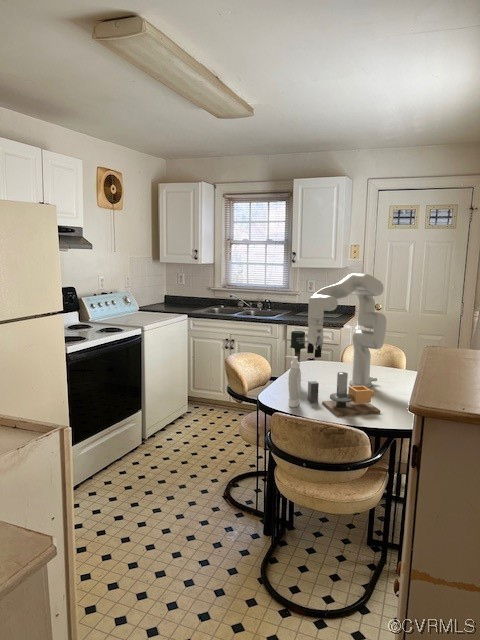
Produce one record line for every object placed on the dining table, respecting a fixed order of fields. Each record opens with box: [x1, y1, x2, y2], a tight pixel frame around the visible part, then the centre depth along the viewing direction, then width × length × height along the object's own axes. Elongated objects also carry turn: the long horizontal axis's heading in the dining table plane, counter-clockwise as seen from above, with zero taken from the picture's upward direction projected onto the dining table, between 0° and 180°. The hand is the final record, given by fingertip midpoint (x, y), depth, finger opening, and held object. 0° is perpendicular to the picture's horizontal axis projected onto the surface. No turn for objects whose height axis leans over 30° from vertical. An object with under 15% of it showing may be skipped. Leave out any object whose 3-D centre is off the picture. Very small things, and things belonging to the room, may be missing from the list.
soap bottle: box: [285, 355, 302, 408], centre depth 234 cm, size 13×8×24 cm, turn 159°
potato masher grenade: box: [289, 330, 306, 364], centre depth 270 cm, size 8×9×30 cm
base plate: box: [321, 400, 381, 418], centre depth 231 cm, size 22×18×2 cm
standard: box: [329, 371, 353, 408], centre depth 228 cm, size 11×11×16 cm
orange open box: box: [347, 385, 376, 403], centre depth 231 cm, size 12×8×6 cm
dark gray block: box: [307, 380, 319, 404], centre depth 240 cm, size 4×4×10 cm
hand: (314, 355), depth 237 cm, fingers open, 9 cm apart
